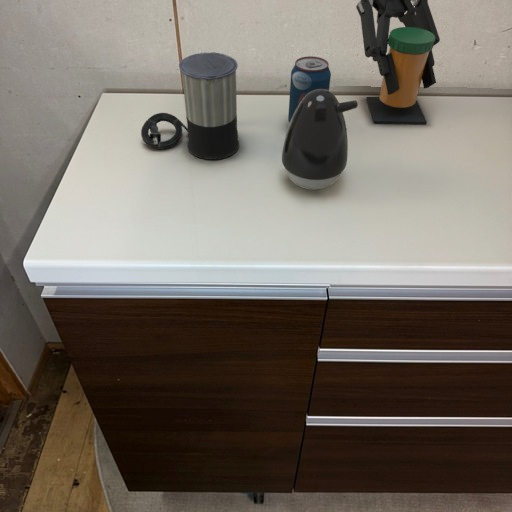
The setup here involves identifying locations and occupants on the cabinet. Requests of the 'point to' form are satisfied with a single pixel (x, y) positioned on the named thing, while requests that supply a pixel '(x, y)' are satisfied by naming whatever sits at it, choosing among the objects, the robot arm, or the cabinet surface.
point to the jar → (405, 78)
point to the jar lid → (411, 40)
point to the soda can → (307, 79)
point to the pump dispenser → (317, 140)
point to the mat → (394, 113)
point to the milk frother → (203, 108)
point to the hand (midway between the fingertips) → (412, 88)
